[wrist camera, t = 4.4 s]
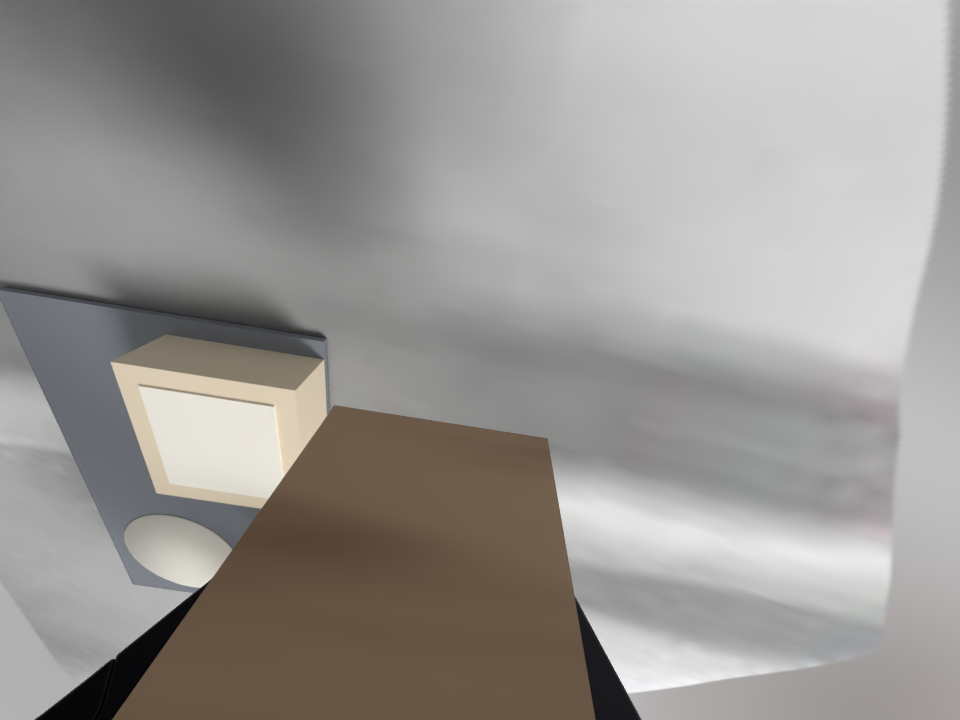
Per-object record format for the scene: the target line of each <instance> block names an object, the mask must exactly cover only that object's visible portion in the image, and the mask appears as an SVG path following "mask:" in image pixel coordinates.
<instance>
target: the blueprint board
mask: <svg viewBox="0 0 960 720" xmlns="http://www.w3.org/2000/svg"><path fill="white" fill-rule="evenodd" d="M0 300H1V302H2V304H3V307H4V309H5V311H6V313H7V315H8V317H9V320H10V322H11V324H12V326H13V328H14V330H15V332H16V335H17V337H18V339H19V341H20V343H21V345H22V347H23V350H24V352H25V354H26V356H27V358H28V360H29V362H30V365H31V367H32V369H33V371H34V373H35V375H36V378H37V380H38V382H39V384H40V386H41V388H42V390H43V393H44V395H45V397H46V399H47V401H48V403H49V405H50V408H51V410H52V412H53V414H54V416H55V418H56V420H57V423H58V425H59V427H60V429H61V431H62V433H63V436H64V438H65V440H66V442H67V444H68V446H69V448H70V451H71V453H72V455H73V457H74V459H75V461H76V463H77V466H78V468H79V470H80V472H81V474H82V476H83V478H84V481H85V483H86V485H87V487H88V489H89V491H90V494H91V496H92V498H93V500H94V502H95V504H96V506H97V509H98V511H99V513H100V515H101V517H102V519H103V521H104V524H105V526H106V528H107V530H108V532H109V534H110V536H111V539H112V541H113V543H114V545H115V547H116V549H117V552H118V554H119V556H120V558H121V560H122V562H123V564H124V567H125V569H126V571H127V573H128V575H129V577H130V579H131V582H132V584H134V585H141V586H148V587H155V588H162V589H169V590H176V591H183V592H191V593H195V592H196V591H197V590H198V589H200V588H201V587H202V586H203V585H205V584H206V583H207V582H208V581H210V580H211V579H212V578H213V576H214V575H215V574H216V572H217V571H218V569H219V568H220V567H221V565H222V564H223V562H224V561H225V559H226V558H227V557H228V555H229V554H230V552H231V551H232V550H233V548H234V547H235V545H236V544H237V542H238V541H239V540H240V538H241V537H242V535H243V534H244V533H245V531H246V530H247V528H248V527H249V526H250V524H251V523H252V521H253V520H254V518H255V517H256V516H257V514H258V513H259V511H260V510H261V509H262V507H263V506H264V504H265V503H266V501H267V500H268V499H269V497H270V496H271V494H272V493H273V492H274V490H275V489H276V487H277V486H278V485H279V483H280V482H281V480H282V479H283V477H284V476H285V475H286V473H287V472H288V470H289V469H290V468H291V466H292V465H293V463H294V462H295V460H296V459H297V458H298V456H299V455H300V453H301V452H302V451H303V449H304V448H305V446H306V445H307V444H308V442H309V441H310V439H311V438H312V436H313V435H314V434H315V432H316V431H317V429H318V428H319V427H320V425H321V424H322V422H323V421H324V419H325V418H326V417H327V415H328V414H329V412H330V402H329V379H328V355H327V339H326V338H320V337H314V336H308V335H301V334H295V333H289V332H283V331H276V330H270V329H264V328H258V327H251V326H245V325H239V324H233V323H226V322H220V321H214V320H208V319H201V318H195V317H189V316H183V315H176V314H170V313H164V312H157V311H151V310H145V309H139V308H132V307H126V306H120V305H114V304H107V303H101V302H95V301H89V300H82V299H76V298H70V297H64V296H57V295H51V294H45V293H39V292H32V291H26V290H20V289H14V288H7V287H4V288H0Z"/></svg>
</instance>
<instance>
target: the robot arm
mask: <svg viewBox="0 0 960 720" xmlns="http://www.w3.org/2000/svg"><path fill="white" fill-rule="evenodd" d="M210 581H211V580H210ZM210 581H208V582H207V583H206V584H205V585H203V586H202V587H201V588H200V589H198V590H197V591H196V592H195V593H193V594H192V595H191V596H190V597H188V598H187V599H186V600H185V601H183V602H182V603H181V604H180V605H179V606H177V607H176V608H175V609H174V610H172V611H171V612H170V613H169V614H167V615H166V616H165V617H164V618H162V619H161V620H160V621H159V622H157V623H156V624H155V625H154V626H152V627H151V628H150V629H149V630H147V631H146V632H145V633H144V634H143V635H141V636H140V637H139V638H138V639H136V640H135V641H134V642H133V643H131V644H130V645H129V646H128V647H126V648H125V649H124V650H123V651H121V652H120V653H119V654H118V655H117V656H116V659H112V660H110V661H109V662H108V663H106V664H105V665H104V666H103V667H101V668H100V669H99V670H98V671H96V672H95V673H94V674H93V675H91V676H90V677H89V678H88V679H86V680H85V681H84V682H83V683H81V684H80V685H79V686H78V687H76V688H75V689H74V690H72V691H71V692H70V693H69V694H67V695H66V696H65V697H63V698H62V699H61V700H60V701H58V702H57V703H56V704H54V705H53V706H52V707H51V708H49V709H48V710H47V711H45V712H44V713H43V714H42V715H40V716H39V717H38V718H36V719H35V720H112V719H113V718H114V716H115V715H116V714H117V712H118V711H119V709H120V708H121V706H122V705H123V704H124V702H125V701H126V699H127V698H128V697H129V695H130V694H131V692H132V691H133V690H134V688H135V687H136V685H137V684H138V682H139V681H140V680H141V678H142V677H143V675H144V674H145V673H146V671H147V670H148V668H149V667H150V665H151V664H152V663H153V661H154V660H155V658H156V657H157V656H158V654H159V653H160V651H161V650H162V649H163V647H164V646H165V644H166V643H167V641H168V640H169V639H170V637H171V636H172V634H173V633H174V632H175V630H176V629H177V627H178V626H179V624H180V623H181V622H182V620H183V619H184V617H185V616H186V615H187V613H188V612H189V610H190V609H191V608H192V606H193V605H194V603H195V602H196V600H197V599H198V598H199V596H200V595H201V593H202V592H203V591H204V589H205V588H206V586H207V585H208V583H209V582H210ZM574 597H575V596H574ZM575 603H576V609H577V614H578V620H579V626H580V632H581V638H582V644H583V650H584V655H585V661H586V667H587V673H588V679H589V685H590V690H591V696H592V702H593V708H594V714H595V720H641V718H640V716H639V714H638V712H637V710H636V709H635V707H634V705H633V703H632V701H631V700H630V698H629V696H628V694H627V692H626V690H625V688H624V686H623V685H622V683H621V681H620V679H619V677H618V675H617V673H616V672H615V670H614V668H613V666H612V664H611V662H610V660H609V659H608V657H607V655H606V653H605V651H604V649H603V648H602V646H601V644H600V642H599V640H598V638H597V636H596V635H595V633H594V631H593V629H592V627H591V625H590V623H589V622H588V620H587V618H586V616H585V614H584V612H583V611H582V609H581V607H580V605H579V603H578V601H577V599H576V598H575Z"/></svg>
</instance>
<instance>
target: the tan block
mask: <svg viewBox="0 0 960 720" xmlns="http://www.w3.org/2000/svg"><path fill="white" fill-rule="evenodd" d="M112 720H595V714H594V708H593V702H592V696H591V690H590V685H589V679H588V673H587V667H586V661H585V655H584V650H583V644H582V638H581V632H580V626H579V620H578V614H577V609H576V603H575V597H574V591H573V585H572V579H571V574H570V568H569V562H568V556H567V550H566V544H565V539H564V533H563V527H562V521H561V515H560V509H559V503H558V498H557V492H556V486H555V480H554V474H553V468H552V463H551V457H550V451H549V445H548V439H547V438H541V437H534V436H528V435H522V434H515V433H509V432H502V431H496V430H489V429H483V428H477V427H470V426H464V425H457V424H451V423H445V422H438V421H432V420H425V419H419V418H413V417H406V416H400V415H393V414H387V413H381V412H374V411H368V410H361V409H355V408H349V407H342V406H336V405H334V407H333V408H332V410H331V411H330V412H329V414H328V415H327V417H326V418H325V419H324V421H323V422H322V424H321V425H320V427H319V428H318V429H317V431H316V432H315V434H314V435H313V436H312V438H311V439H310V441H309V442H308V444H307V445H306V446H305V448H304V449H303V451H302V452H301V453H300V455H299V456H298V458H297V459H296V460H295V462H294V463H293V465H292V466H291V468H290V469H289V470H288V472H287V473H286V475H285V476H284V477H283V479H282V480H281V482H280V483H279V485H278V486H277V487H276V489H275V490H274V492H273V493H272V494H271V496H270V497H269V499H268V500H267V501H266V503H265V504H264V506H263V507H262V509H261V510H260V511H259V513H258V514H257V516H256V517H255V518H254V520H253V521H252V523H251V524H250V526H249V527H248V528H247V530H246V531H245V533H244V534H243V535H242V537H241V538H240V540H239V541H238V542H237V544H236V545H235V547H234V548H233V550H232V551H231V552H230V554H229V555H228V557H227V558H226V559H225V561H224V562H223V564H222V565H221V567H220V568H219V569H218V571H217V572H216V574H215V575H214V576H213V578H212V579H211V581H210V582H209V583H208V585H207V586H206V588H205V589H204V591H203V592H202V593H201V595H200V596H199V598H198V599H197V600H196V602H195V603H194V605H193V606H192V608H191V609H190V610H189V612H188V613H187V615H186V616H185V617H184V619H183V620H182V622H181V623H180V624H179V626H178V627H177V629H176V630H175V632H174V633H173V634H172V636H171V637H170V639H169V640H168V641H167V643H166V644H165V646H164V647H163V649H162V650H161V651H160V653H159V654H158V656H157V657H156V658H155V660H154V661H153V663H152V664H151V665H150V667H149V668H148V670H147V671H146V673H145V674H144V675H143V677H142V678H141V680H140V681H139V682H138V684H137V685H136V687H135V688H134V690H133V691H132V692H131V694H130V695H129V697H128V698H127V699H126V701H125V702H124V704H123V705H122V706H121V708H120V709H119V711H118V712H117V714H116V715H115V716H114V718H113V719H112Z"/></svg>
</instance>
